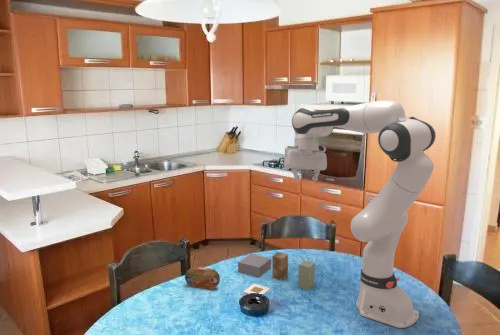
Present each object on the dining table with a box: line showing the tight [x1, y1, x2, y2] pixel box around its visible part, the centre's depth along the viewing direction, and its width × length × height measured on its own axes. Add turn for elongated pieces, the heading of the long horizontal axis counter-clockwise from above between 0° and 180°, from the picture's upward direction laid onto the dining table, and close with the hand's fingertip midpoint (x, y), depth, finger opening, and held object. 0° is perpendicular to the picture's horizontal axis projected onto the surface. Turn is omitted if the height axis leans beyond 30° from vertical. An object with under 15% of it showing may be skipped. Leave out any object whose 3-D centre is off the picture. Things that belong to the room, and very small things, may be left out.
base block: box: [237, 253, 272, 278], centre depth 189 cm, size 11×11×5 cm
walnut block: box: [271, 252, 289, 281], centre depth 182 cm, size 5×5×10 cm
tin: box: [184, 266, 221, 291], centre depth 174 cm, size 15×3×8 cm, turn 73°
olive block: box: [297, 260, 316, 291], centre depth 173 cm, size 5×5×10 cm
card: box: [243, 283, 271, 295], centre depth 171 cm, size 8×8×1 cm
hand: (306, 180), depth 173 cm, fingers open, 8 cm apart
